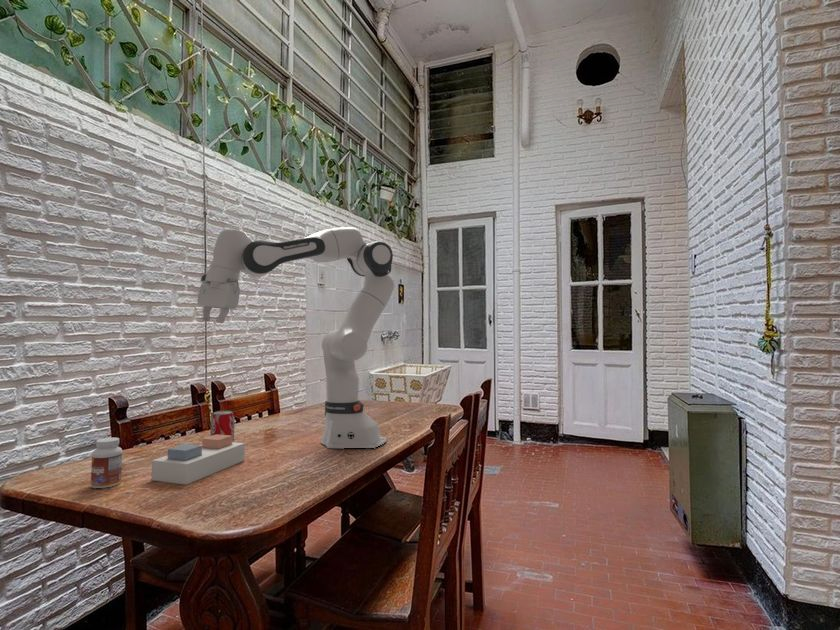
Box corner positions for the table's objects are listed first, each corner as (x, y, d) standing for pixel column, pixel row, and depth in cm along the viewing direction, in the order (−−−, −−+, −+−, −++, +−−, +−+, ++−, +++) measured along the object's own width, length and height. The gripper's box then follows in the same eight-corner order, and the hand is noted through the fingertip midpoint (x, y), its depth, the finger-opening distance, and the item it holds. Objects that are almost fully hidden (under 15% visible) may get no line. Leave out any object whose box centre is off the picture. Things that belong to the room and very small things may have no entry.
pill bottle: (84, 487, 108) (86, 440, 108) (110, 479, 114) (112, 435, 114) (100, 490, 106) (102, 443, 106) (126, 483, 111) (128, 438, 112)
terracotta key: (231, 449, 130) (232, 435, 130) (218, 454, 125) (218, 440, 125) (215, 448, 132) (216, 434, 132) (201, 452, 126) (202, 438, 127)
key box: (244, 460, 132) (244, 443, 132) (186, 484, 110) (187, 464, 111) (213, 457, 134) (213, 440, 135) (151, 480, 113) (151, 460, 114)
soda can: (227, 452, 140) (228, 414, 140) (205, 452, 140) (206, 414, 140) (237, 447, 147) (238, 410, 147) (216, 446, 147) (217, 410, 147)
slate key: (201, 460, 119) (201, 445, 119) (185, 466, 113) (185, 450, 114) (184, 458, 120) (184, 443, 120) (167, 464, 115) (167, 449, 115)
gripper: (248, 281, 135) (238, 326, 133) (217, 281, 149) (207, 322, 147) (229, 275, 131) (218, 322, 129) (198, 276, 144) (188, 318, 142)
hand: (212, 322), depth 138 cm, fingers open, 8 cm apart
